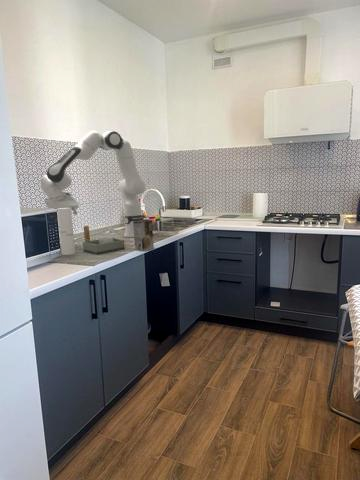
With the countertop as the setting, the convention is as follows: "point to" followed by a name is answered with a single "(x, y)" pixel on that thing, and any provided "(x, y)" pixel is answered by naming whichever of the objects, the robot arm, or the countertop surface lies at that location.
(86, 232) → the brown wooden cylinder
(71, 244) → the cylindrical container
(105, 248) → the grey open box
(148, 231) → the coffee box
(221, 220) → the countertop surface
